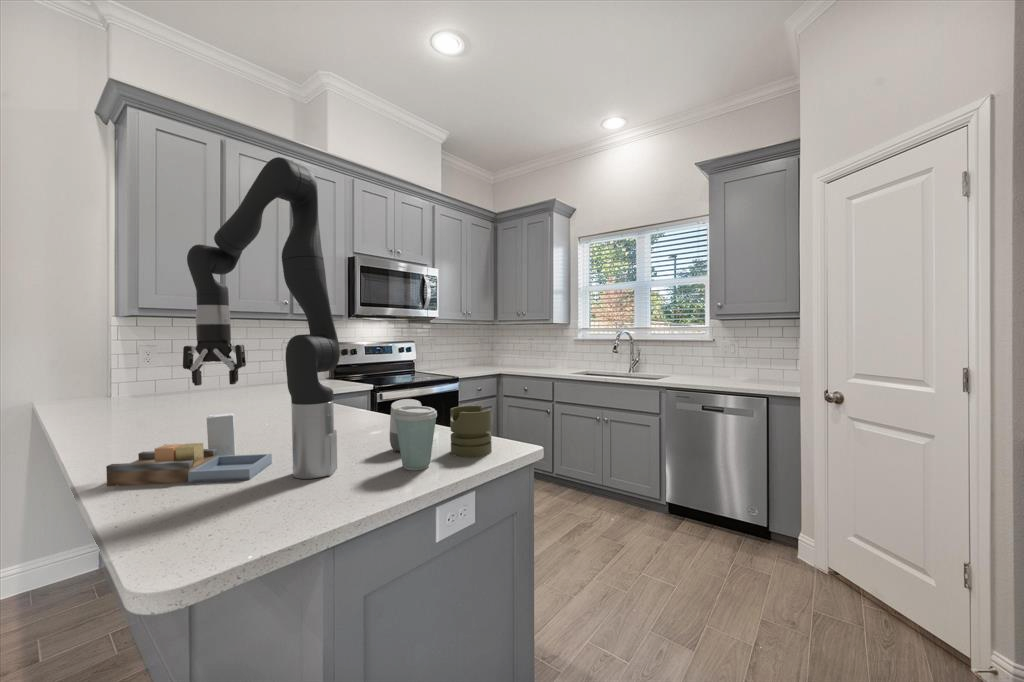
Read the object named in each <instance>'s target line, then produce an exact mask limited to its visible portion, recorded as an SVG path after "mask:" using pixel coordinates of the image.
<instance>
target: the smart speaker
mask: <svg viewBox="0 0 1024 682" xmlns="http://www.w3.org/2000/svg"><path fill="white" fill-rule="evenodd" d="M399 406H423V405H422V403H421V401H419V400H417V399H412V398H405V399H399V400H395V401H394V402H392V403H391V405H390V419H389V420H390V421H389V443H390V447H391V449H392V450H393V451H395V452H397V453H400V447H399V441H398V435H397V428H396V422H395V418H394V414H395V412H396V408H397V407H399Z"/></svg>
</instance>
